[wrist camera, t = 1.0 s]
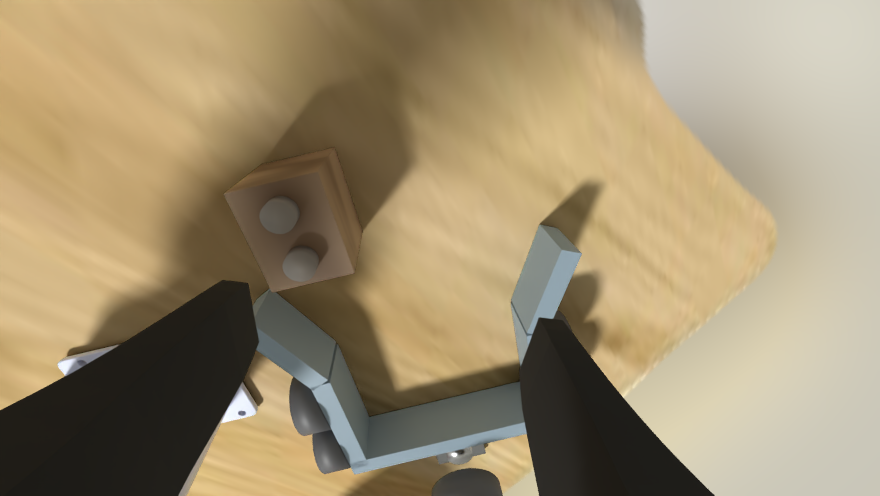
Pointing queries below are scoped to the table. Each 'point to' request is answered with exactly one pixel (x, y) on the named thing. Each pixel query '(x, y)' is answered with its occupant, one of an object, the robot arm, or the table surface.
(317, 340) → the chassis
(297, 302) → the table surface
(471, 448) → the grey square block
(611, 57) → the table surface
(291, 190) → the wooden block with knobs
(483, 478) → the spare wheel
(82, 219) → the table surface
